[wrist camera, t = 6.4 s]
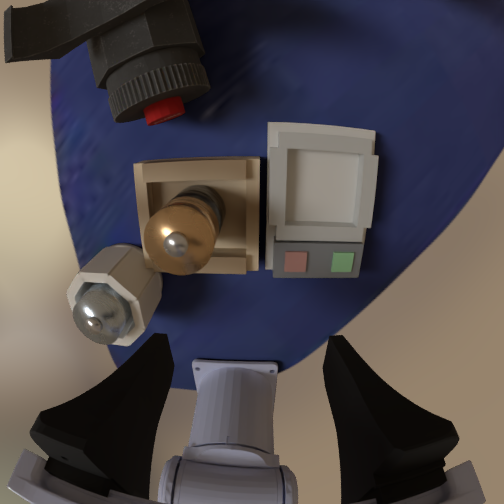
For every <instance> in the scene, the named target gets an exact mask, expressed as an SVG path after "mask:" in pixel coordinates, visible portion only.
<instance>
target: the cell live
mask: <svg viewBox="0 0 504 504" xmlns="http://www.w3.org/2000/svg"><path fill="white" fill-rule="evenodd" d="M225 215H226V208H225V204H224V201H223V199H222V197H221V196H220V195H219V194H218V193H217V192H216V191H215V190H214V189H212V188H210V187H208V186H205V185H192V186H189V187H187V188H185V189H183V190H182V191H181V192H180V193H178V194H177V195H176V196H175V197H174V198H173V199H171V200H170V201H169V202H168V203H167V204H166V205H164V206H163V207H162V208H161V209H160V210H159V211H158V212H156V213H155V214H154V215H153V216H152V217H151V218H150V220H149V221H148V223H147V224H146V227H145V230H144V246H145V249H146V252H147V254H148V256H149V257H150V259H151V260H152V261H153V262H154V264H155V265H157V266H158V267H159V268H161V269H162V270H164V271H166V272H168V273H171V274H175V275H189V274H193V273H195V272H197V271H199V270H201V269H202V268H203V267H204V266H205V265H206V264H207V263H208V261H209V260H210V258H211V255H212V252H213V250H214V247H215V244H216V241H217V238H218V236H219V233H220V230H221V227H222V225H223V222H224V219H225Z"/></svg>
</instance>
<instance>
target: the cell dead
mask: <svg viewBox="0 0 504 504" xmlns="http://www.w3.org/2000/svg"><path fill="white" fill-rule="evenodd" d="M131 315H132V311H131V307H130V303H129V302H128V301H127V300H126V299H125V298H123V297H122V296H121V295H120V294H119V293H118V292H116V291H115V290H114V289H113V288H112V287H111V286H110V285H108V284H107V283H94V284H93V285H92V286H91V287H90V288H89V289H88V291H87V292H86V293H85V294H84V295H83V296H82V297H81V299H80V300H79V301H78V302H77V303H76V304H75V306H74V308H73V318H74V321H75V323H76V325H77V327H78V328H79V330H80V331H81V332H82V333H83V334H84V335H85V336H86V337H87V338H89V339H90V340H92V341H94V342H96V343H99V344H104V345H108V344H112V343H114V342H115V341H116V340H117V339H118V337H119V335H120V334H121V332H122V330H123V328H124V327H125V325H126V323H127V321H128V320H129V318H130V316H131Z"/></svg>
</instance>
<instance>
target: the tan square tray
mask: <svg viewBox="0 0 504 504" xmlns="http://www.w3.org/2000/svg"><path fill="white" fill-rule="evenodd" d="M134 176H135V188H136V198H137V208H138V217H139V225H140V233H141V240H142V247H143V253H144V260H145V266H146V268H153V269H154V272H166V271H164V270H162V269H161V268H159V267H158V266H157V265H155V264H154V262H153V261H152V260H151V259H150V257H149V256H148V254H147V252H146V249H145V246H144V230H145V227H146V224H147V223H148V221H149V220H150V218H151V217H152V216H153V215H154V214H155V213H156V212H158V211H159V210H160V209H161V208H162V207H163V206H164V205H166V204H167V203H168V202H169V201H170V200H171V199H173V198H174V197H175V196H176V195H177V194H178V193H180V192H181V191H182V190H183V189H185V188H187V187H189V186H192V185H205V186H208V187H210V188H212V189H214V190H215V191H216V192H217V193H218V194H219V195H220V196H221V197H222V199H223V201H224V204H225V208H226V215H225V219H224V222H223V225H222V227H221V230H220V233H219V236H218V238H217V241H216V244H215V247H214V250H213V252H212V255H211V258H210V260H209V261H208V263H207V264H206V265H205V266H204V267H203V268H202V269H201V270H199V271H197V272H195V273H214V274H246V271H258V259H259V189H260V156H227V157H192V158H173V159H158V160H145V161H141V162H138V163H135V164H134Z"/></svg>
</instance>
